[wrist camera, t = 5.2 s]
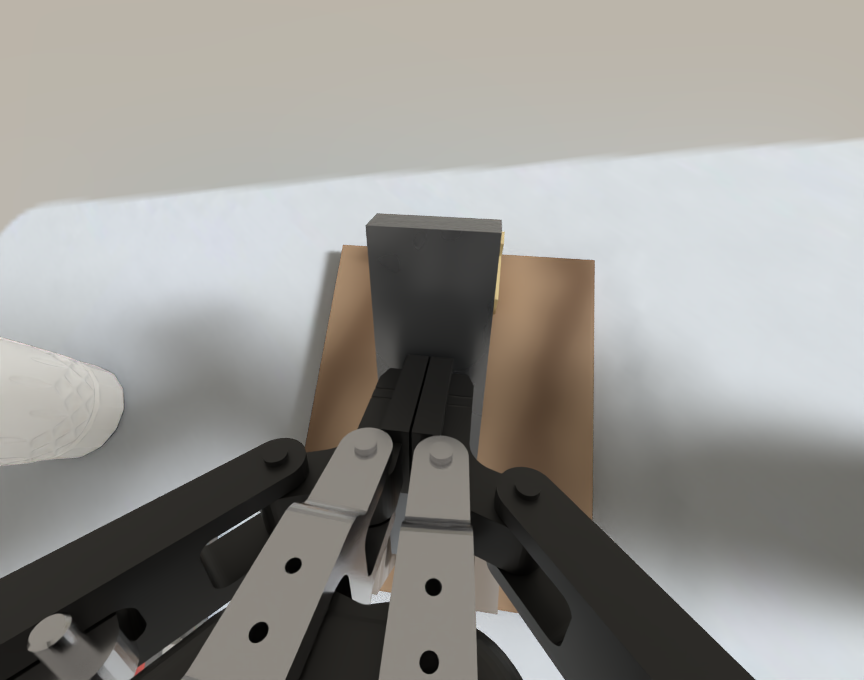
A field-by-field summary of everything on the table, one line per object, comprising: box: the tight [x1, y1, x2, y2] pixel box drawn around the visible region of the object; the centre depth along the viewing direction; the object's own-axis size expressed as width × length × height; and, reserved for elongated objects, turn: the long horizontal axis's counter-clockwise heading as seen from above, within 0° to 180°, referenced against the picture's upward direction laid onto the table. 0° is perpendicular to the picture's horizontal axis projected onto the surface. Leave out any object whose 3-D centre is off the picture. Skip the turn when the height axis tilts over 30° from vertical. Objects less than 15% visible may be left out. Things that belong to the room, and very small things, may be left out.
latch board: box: [305, 232, 595, 614], centre depth 24 cm, size 18×22×6 cm
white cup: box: [0, 337, 124, 466], centre depth 24 cm, size 8×8×10 cm
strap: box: [366, 213, 502, 562], centre depth 16 cm, size 4×18×2 cm
